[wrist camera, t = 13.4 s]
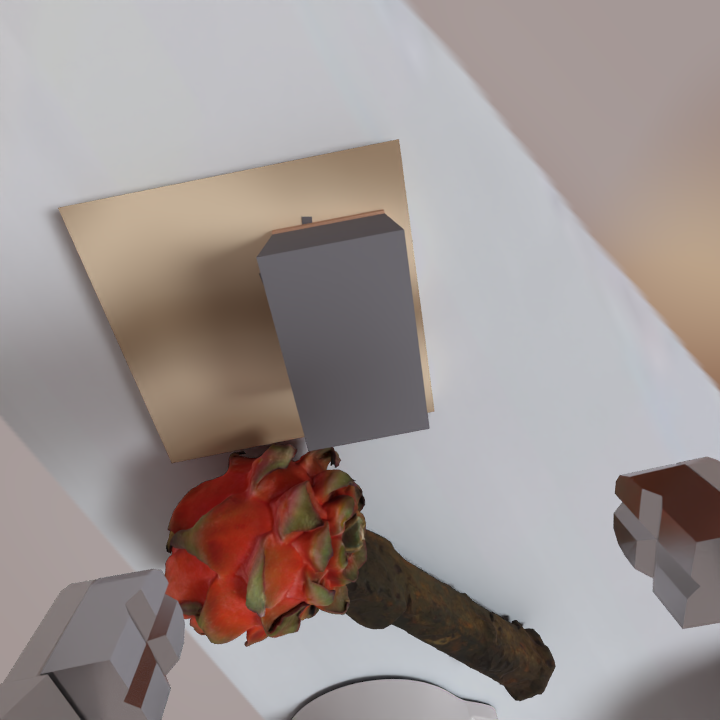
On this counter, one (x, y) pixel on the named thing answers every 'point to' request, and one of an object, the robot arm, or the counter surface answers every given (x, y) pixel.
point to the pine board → (222, 288)
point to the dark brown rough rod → (447, 620)
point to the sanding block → (346, 327)
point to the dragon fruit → (266, 545)
